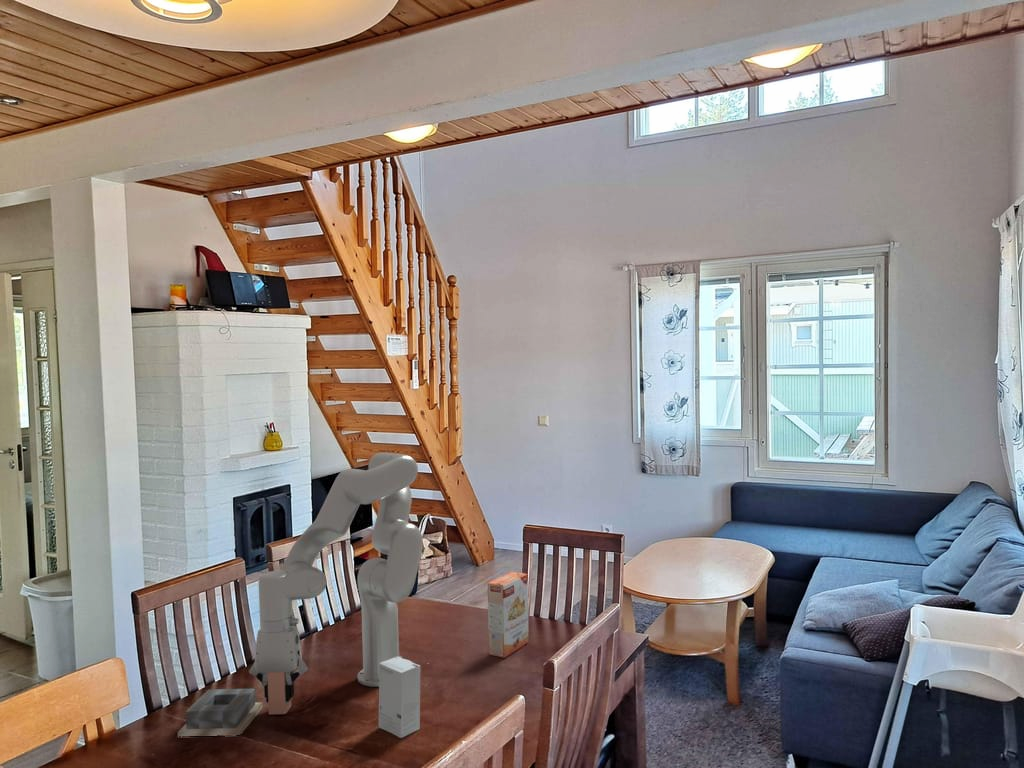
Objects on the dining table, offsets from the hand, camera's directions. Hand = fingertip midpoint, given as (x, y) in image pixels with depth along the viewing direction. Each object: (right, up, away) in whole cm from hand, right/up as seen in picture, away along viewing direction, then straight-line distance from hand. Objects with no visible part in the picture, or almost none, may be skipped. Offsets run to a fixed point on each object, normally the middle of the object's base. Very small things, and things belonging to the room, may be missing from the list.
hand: (279, 698), depth 167 cm
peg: (0, -3, 0) cm, 3 cm away
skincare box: (+31, -3, -10) cm, 32 cm away
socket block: (-12, -4, -4) cm, 13 cm away
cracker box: (+55, -2, +36) cm, 66 cm away
